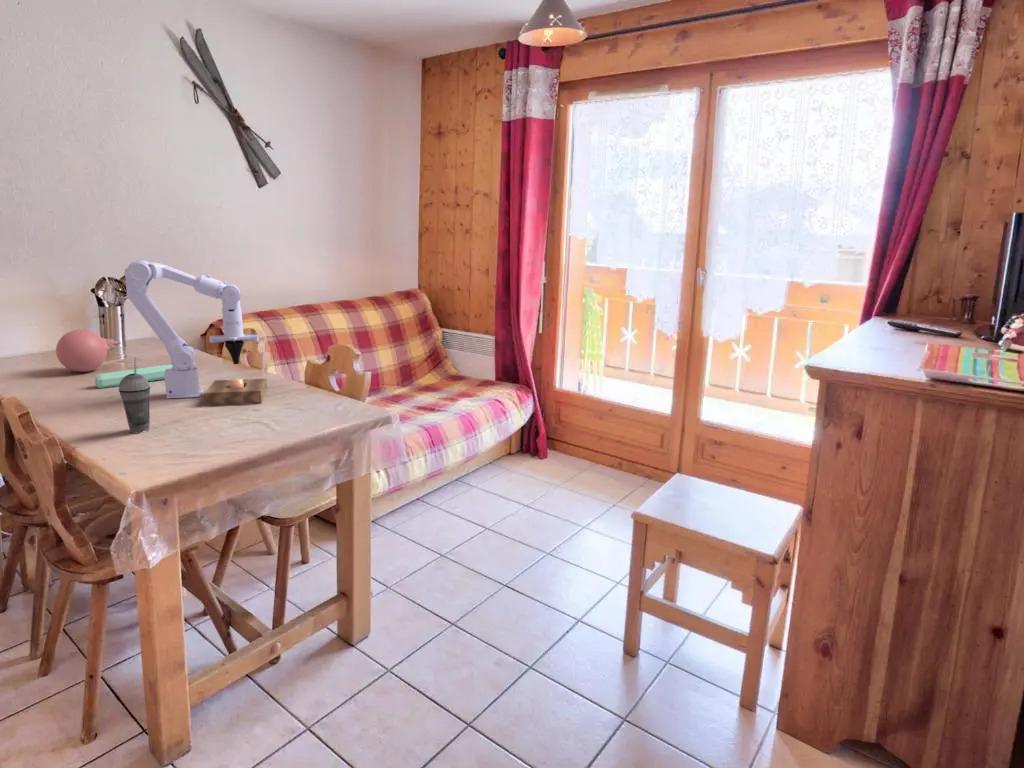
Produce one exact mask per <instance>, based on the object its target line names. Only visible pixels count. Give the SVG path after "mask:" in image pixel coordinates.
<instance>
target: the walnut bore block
mask: <svg viewBox="0 0 1024 768" xmlns="http://www.w3.org/2000/svg"><path fill="white" fill-rule="evenodd" d="M242 379H243V383H244V387H239V388H230V379H224V380H222V379H220V380H219V379H218V380H217V379H216V380H214V381H213V382H212V383H211V384H210V386H209V387H208V388H207V389H206V390H205V392H204V401H205V406H206V407H207V406H209V407H210V406H227V405H229V406H231V405H233V404H234V405H248V404H247V403H257V404H262V403H263V401H264V399H265V397H266V395H267V393H268V391H267V389H268V387H269V386H268V378H247V379H246V378H245V379H244V378H242ZM268 390H269V389H268ZM266 392H267V393H266ZM265 394H266V395H265ZM264 396H265V397H264ZM263 398H264V399H263ZM234 405H233V406H234Z"/></svg>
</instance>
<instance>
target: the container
mask: <svg viewBox="0 0 1024 768" xmlns="http://www.w3.org/2000/svg"><path fill="white" fill-rule="evenodd" d="M173 366H174V365H173V364H172V363H169V364H163V365H156V366H155V365H154V366H148V367H141V368H136V374H140V375H142V376H144V377H145V378H146V379H147V381H150V382H154V380H157V381H162V380H165V370H166V369H171V368H172V367H173ZM128 374H134V368H133V369H126V370H119V371H112V372H106V373H105V372H104V373H99V374H97V375H95V377H94V383H95V385H96V387H97V388H98V389H105V387H107V388H112V386H114V387H119V384H120V381H121V380H122V379H123V378H124V377H125V376H126V375H128Z"/></svg>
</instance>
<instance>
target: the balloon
mask: <svg viewBox="0 0 1024 768" xmlns="http://www.w3.org/2000/svg"><path fill="white" fill-rule="evenodd" d="M117 345H121V341H119V340H114V339H113V338H105V337H104V338H103V337H101V336H100V335H99V334H97V333H95V332H93V331H91V330H88V329H74V330H71V331H69V332H66V333H65V334H63V335H62V336H61V337H60V339H59V340H58V341H57V344H56V347H55V353H56V356H57V357H56V358H57V360H58V361H59V362H60V364H62V366H63V367H65V368H66V369H67V370H69V371H73V372H77V373H87V372H92V371H94V370H97V369H98V368H99V367H101V366H102V365H103V364H104V362H105V361H106V359H107V356H108V353H109V351H110V350H112V349H115V348H116V346H117Z"/></svg>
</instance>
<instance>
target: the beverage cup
mask: <svg viewBox="0 0 1024 768" xmlns="http://www.w3.org/2000/svg"><path fill="white" fill-rule="evenodd" d="M133 359H134V360H133V363H134V365H133V369H134V374H128V375H126V376H125V377H124V378H123V379H122V380H121V381H120V384H119V386H118V392H119V395H120V398H121V399H122V404H123V408H124V412H125V416H126V420H127V421H126V422H127V425H128V428H129V430H130V431H131V432H143V431H146V430H149V429H150V425H151V424H150V422H151V421H150V420H151V419H150V417H151V416H150V394H151V386H150V384H149V382H148V381H147V379H146V378H145V377H144V376H142V375H140V374H136V369H137V357H134V358H133ZM130 431H129V432H130ZM149 431H150V430H149ZM131 432H130V433H131ZM146 432H147V431H146ZM143 433H144V432H143Z"/></svg>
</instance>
